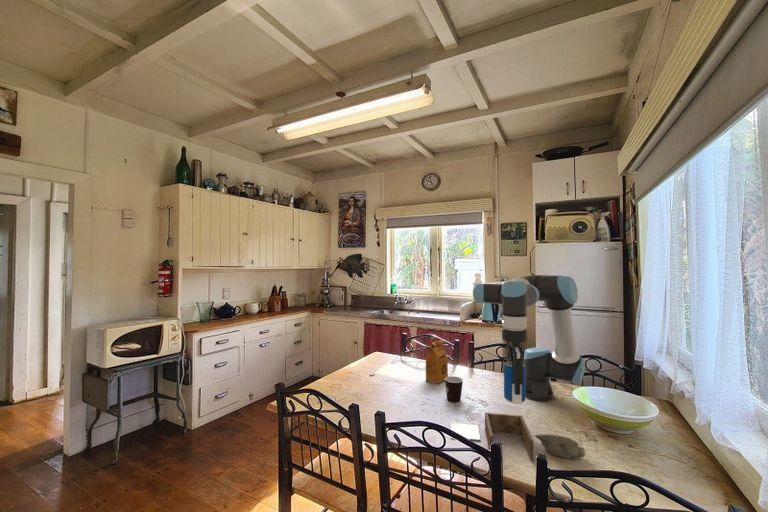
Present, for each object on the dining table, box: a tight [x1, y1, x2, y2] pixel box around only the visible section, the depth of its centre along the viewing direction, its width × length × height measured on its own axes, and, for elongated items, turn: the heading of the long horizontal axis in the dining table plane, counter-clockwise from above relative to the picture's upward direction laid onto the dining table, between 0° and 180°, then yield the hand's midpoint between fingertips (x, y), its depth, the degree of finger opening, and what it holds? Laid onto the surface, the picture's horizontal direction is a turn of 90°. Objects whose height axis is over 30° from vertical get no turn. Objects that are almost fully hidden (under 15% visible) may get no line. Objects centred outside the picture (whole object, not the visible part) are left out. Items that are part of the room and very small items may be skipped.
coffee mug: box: [444, 375, 464, 404], centre depth 161 cm, size 12×9×10 cm
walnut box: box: [484, 411, 534, 462], centre depth 121 cm, size 14×18×7 cm
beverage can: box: [503, 360, 526, 404], centre depth 107 cm, size 6×6×12 cm
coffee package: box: [425, 339, 449, 384], centre depth 185 cm, size 10×12×22 cm
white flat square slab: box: [450, 422, 481, 442], centre depth 130 cm, size 11×11×1 cm
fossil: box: [535, 433, 586, 459], centre depth 116 cm, size 14×10×10 cm
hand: (514, 398), depth 107 cm, fingers closed on beverage can, 6 cm apart
